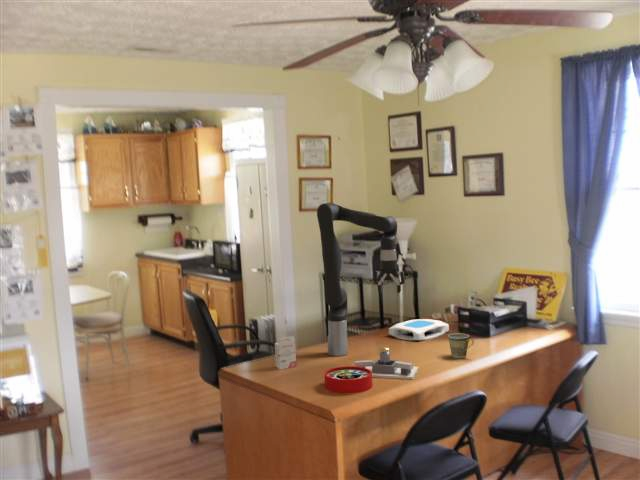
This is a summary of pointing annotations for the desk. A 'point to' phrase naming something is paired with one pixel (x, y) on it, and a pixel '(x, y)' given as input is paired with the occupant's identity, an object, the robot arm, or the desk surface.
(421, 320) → the white blue plastic platform
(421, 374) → the desk surface
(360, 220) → the robot arm
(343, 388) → the toy clock
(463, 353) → the ceramic cup
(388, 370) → the shaft rig
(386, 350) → the gold lidded jar
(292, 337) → the ink cartridge box
